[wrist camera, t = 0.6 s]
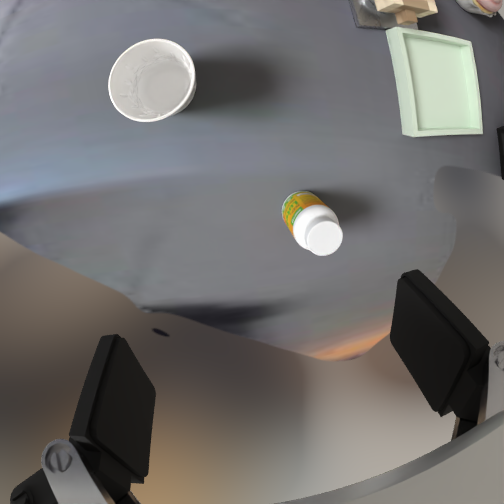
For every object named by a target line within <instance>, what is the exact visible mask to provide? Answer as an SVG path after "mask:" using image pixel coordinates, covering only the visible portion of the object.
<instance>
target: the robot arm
mask: <svg viewBox="0 0 504 504" xmlns="http://www.w3.org/2000/svg"><path fill="white" fill-rule="evenodd" d="M390 341H391V343H392V345H393V347H394V348H395V350H396V351H397V353H398V354H399V356H400V358H401V359H402V361H403V362H404V364H405V365H406V367H407V369H408V370H409V372H410V373H411V375H412V376H413V378H414V380H415V382H416V383H417V385H418V386H419V388H420V390H421V391H422V393H423V395H424V396H425V398H426V400H427V401H428V403H429V405H430V406H431V408H432V409H433V410H434V411H435V412H437V411H438V413H439V414H440V416H441V417H442V416H444V415H446V414H448V413H450V412H451V411H454V413H455V415H456V420H455V425H454V430H453V434H452V439H451V441H450V442H448V443H447V444H445V445H443V446H441V447H439V448H437V449H435V450H434V451H431V452H430V453H428V454H426V455H424V456H422V457H419V458H417V459H415V460H413V461H411V462H409V463H407V464H404V465H402V466H400V467H397V468H395V469H393V470H390V471H388V472H385V473H383V474H380V475H378V476H375V477H373V478H370V479H367V480H364V481H361V482H358V483H355V484H352V485H349V486H346V487H343V488H340V489H336V490H333V491H329V492H325V493H322V494H318V495H314V496H310V497H306V498H301V499H296V500H292V501H287V502H281V503H276V504H504V341H503V342H498V343H496V344H495V345H493V346H492V348H490V347H489V346H488V344H489V341H488V340H487V339H486V338H485V337H484V336H483V335H482V334H481V332H480V331H479V330H478V329H477V328H476V327H475V326H474V325H473V324H472V323H471V322H470V320H469V319H468V318H467V317H466V316H465V315H464V314H463V313H462V312H461V311H460V310H459V309H458V308H457V307H456V306H455V305H454V304H453V303H452V302H451V301H450V300H449V299H448V298H447V297H446V296H445V295H444V294H443V293H442V292H441V291H440V290H439V289H438V288H437V287H436V286H435V285H434V284H433V283H432V282H431V281H430V280H429V279H428V278H427V277H426V276H425V275H424V274H423V273H422V272H421V271H419V270H417V269H416V270H412V271H409V272H406V273H403V274H402V275H401V278H400V279H399V280H398V282H397V291H396V299H395V306H394V313H393V319H392V326H391V332H390ZM155 397H156V392H155V388H154V386H153V385H152V383H151V381H150V380H149V378H148V377H147V375H146V373H145V372H144V370H143V369H142V367H141V365H140V364H139V362H138V360H137V359H136V357H135V355H134V354H133V352H132V350H131V348H130V347H129V345H128V343H127V341H126V340H125V339H124V338H121V337H120V336H119V335H118V334H114V335H107V336H102V337H101V339H100V341H99V344H98V346H97V349H96V352H95V354H94V357H93V360H92V363H91V366H90V369H89V371H88V374H87V377H86V380H85V383H84V386H83V389H82V392H81V395H80V399H79V402H78V405H77V408H76V411H75V415H74V419H73V422H72V425H71V429H70V433H69V436H70V438H69V441H68V440H64V439H57V440H54V441H53V442H51V443H49V444H48V445H47V447H46V448H45V449H44V451H43V454H42V461H41V463H42V467H43V468H42V469H40V470H39V471H37V472H36V473H35V474H33V475H32V476H30V477H29V478H28V479H26V480H25V481H23V482H22V483H21V484H19V485H18V486H17V487H16V488H14V490H13V492H12V493H11V498H10V504H141V503H140V502H139V501H138V500H137V499H136V497H135V496H134V495H133V493H132V492H131V491H130V486H131V483H142V484H144V477H146V476H147V475H148V470H149V456H150V444H151V433H152V423H153V414H154V406H155Z"/></svg>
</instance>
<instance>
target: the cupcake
mask: <svg viewBox="0 0 504 504" xmlns="http://www.w3.org/2000/svg"><path fill="white" fill-rule="evenodd" d="M456 2H457V3H458V4H459V5H460V7H461V8H463V9H464V10H465V11H467V12H470V13H477V14H483V15H486V16H489V17H492V15H496V11H498V10H499V9H500V8H501V6H502V0H456Z"/></svg>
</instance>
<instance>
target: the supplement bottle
mask: <svg viewBox="0 0 504 504" xmlns="http://www.w3.org/2000/svg"><path fill="white" fill-rule="evenodd" d="M282 216H283V219H284V221H285V223H286V225H287V226H288V228H289V230H290V231H291V233H292V234H293V236H294V238H295V239H296V241H297V242H298V244H299V245H300V246H302V247H303V248H305V249H307V250H311V251H312V252H313V253H314V254H316V255H320V256H325V255H329V254H331V253H333V252H335V251H336V250H337V249H338V248H339V246H340V244H341V242H342V238H343V233H342V230H341V228H340V226H339V222H338V218H337V216H336V214H335V213H334V212H333V211H332V210H331V209H330V208H329V207H328V206H327V205H326V204H324V203H323V202H322V201H321V200H320V199H319V198H318V197H317V196H315V195H314V194H313V193H311V192H308V191H298V192H295V193H293V194H291V195H290V196H289V197H288V198H287V199H286V200H285V202H284V204H283V207H282Z"/></svg>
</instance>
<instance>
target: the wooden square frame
mask: <svg viewBox="0 0 504 504" xmlns="http://www.w3.org/2000/svg"><path fill="white" fill-rule="evenodd" d="M374 1H375V4H376V8H377V11H380V12H388V13H395V16H396V19H397V23H398V24H401V25H410V24H414V23H417V22H418V21H417V17H419V18H421V17H424V16H427V15H431V14H434V13H438V11H437V8H436V4H435V1H434V0H374Z"/></svg>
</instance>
